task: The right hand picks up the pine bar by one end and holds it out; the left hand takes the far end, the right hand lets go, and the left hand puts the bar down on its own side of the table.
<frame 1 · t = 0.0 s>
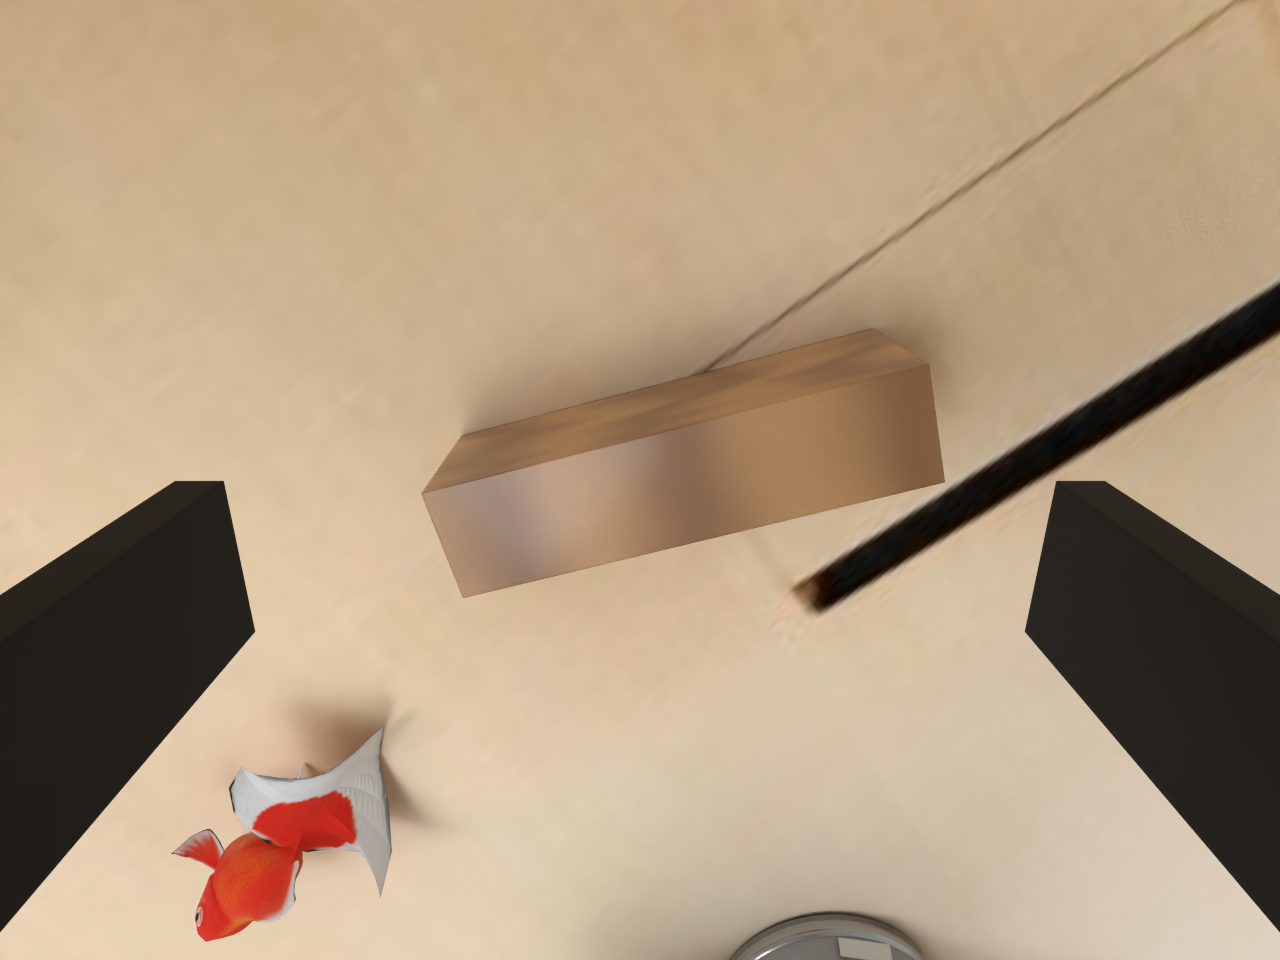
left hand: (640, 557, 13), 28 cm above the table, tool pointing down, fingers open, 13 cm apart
fish: (316, 781, 50), on the table
bar: (674, 431, 41), on the table
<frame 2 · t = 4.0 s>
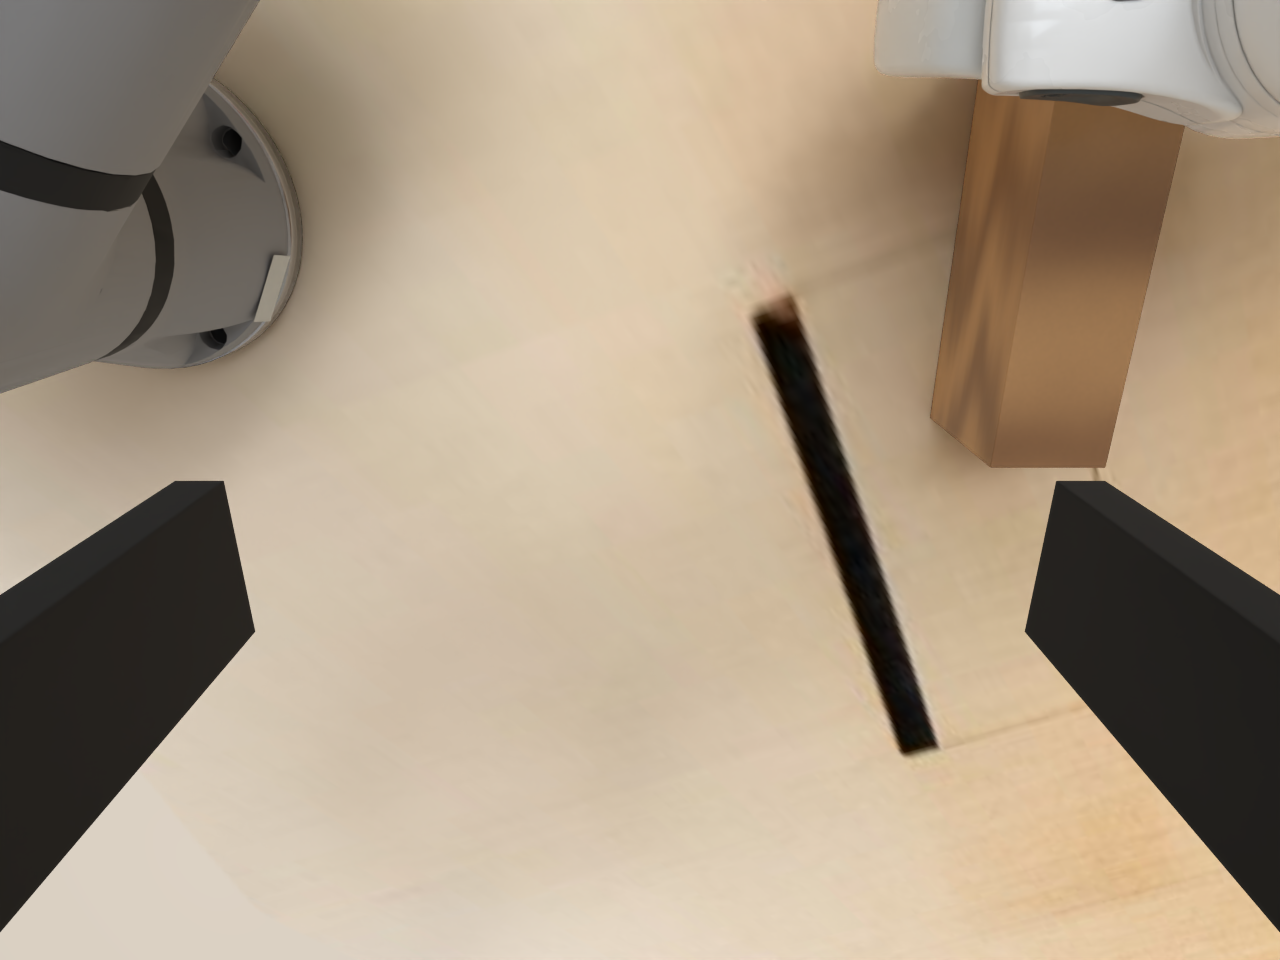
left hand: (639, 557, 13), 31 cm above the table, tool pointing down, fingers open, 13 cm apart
bar: (1011, 211, 40), on the table, touching right hand
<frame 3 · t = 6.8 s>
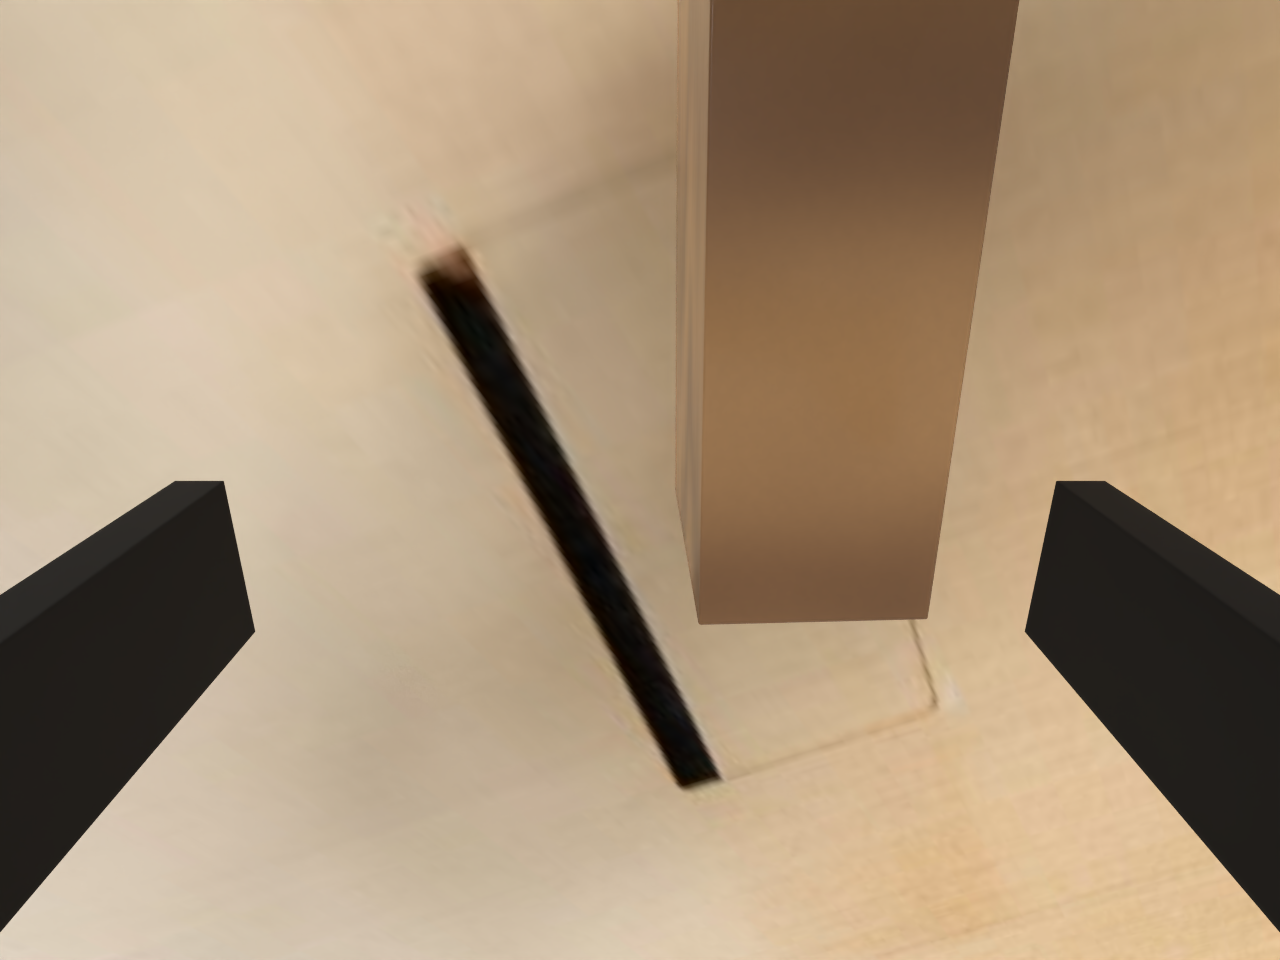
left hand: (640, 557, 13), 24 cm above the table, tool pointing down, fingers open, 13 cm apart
bar: (774, 120, 21), point 12 cm above the table, touching right hand
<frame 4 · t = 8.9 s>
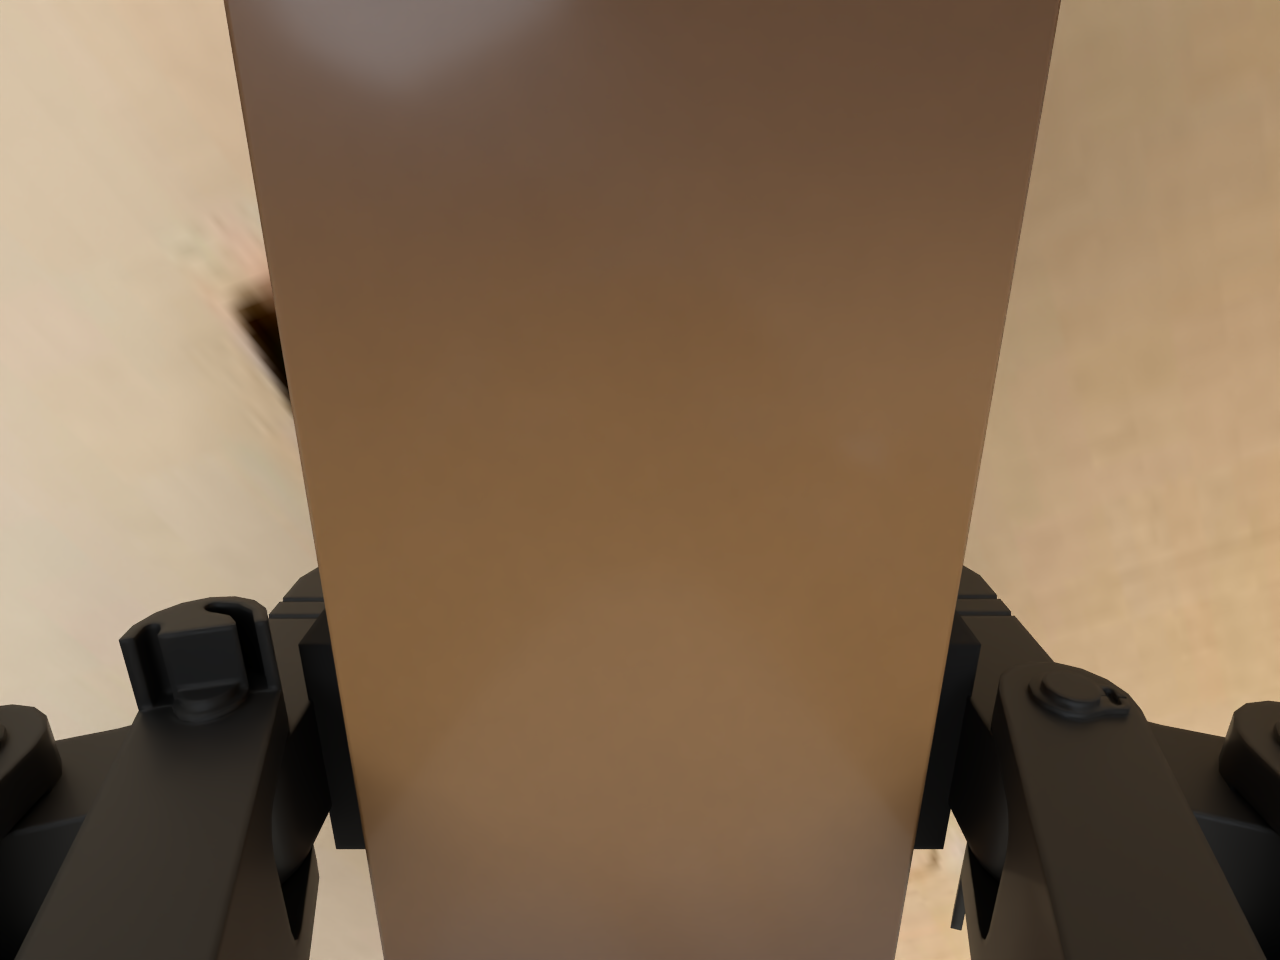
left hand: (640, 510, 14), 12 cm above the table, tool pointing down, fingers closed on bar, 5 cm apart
bar: (640, 75, 12), point 12 cm above the table, touching left hand, right hand
when the right hand's fingers open (14 cm above the table, at t = 9.7 s): bar stays where it is, held by the left hand.
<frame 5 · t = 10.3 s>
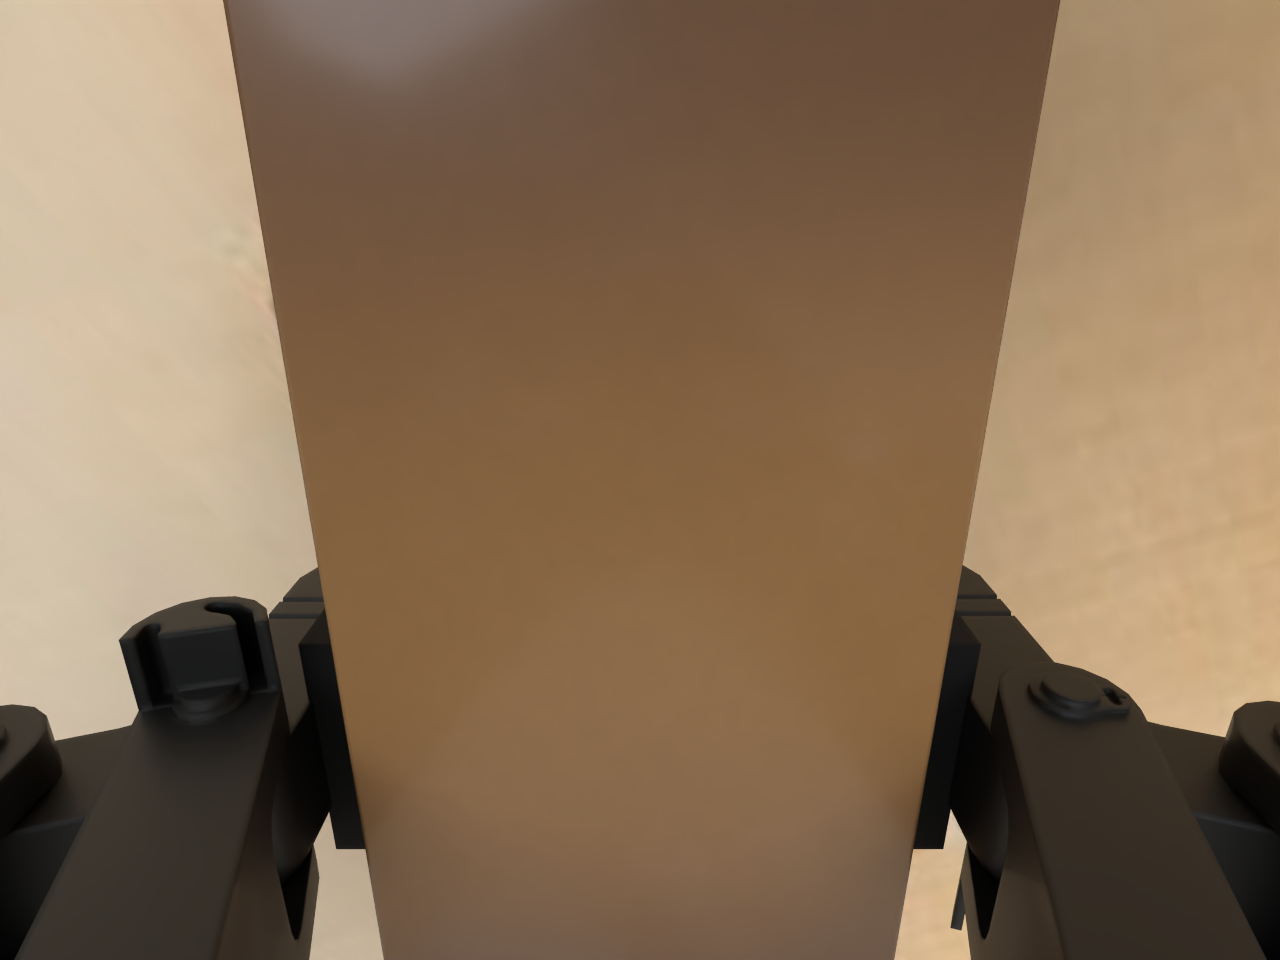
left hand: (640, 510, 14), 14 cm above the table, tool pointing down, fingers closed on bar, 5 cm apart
bar: (640, 74, 12), point 13 cm above the table, touching left hand
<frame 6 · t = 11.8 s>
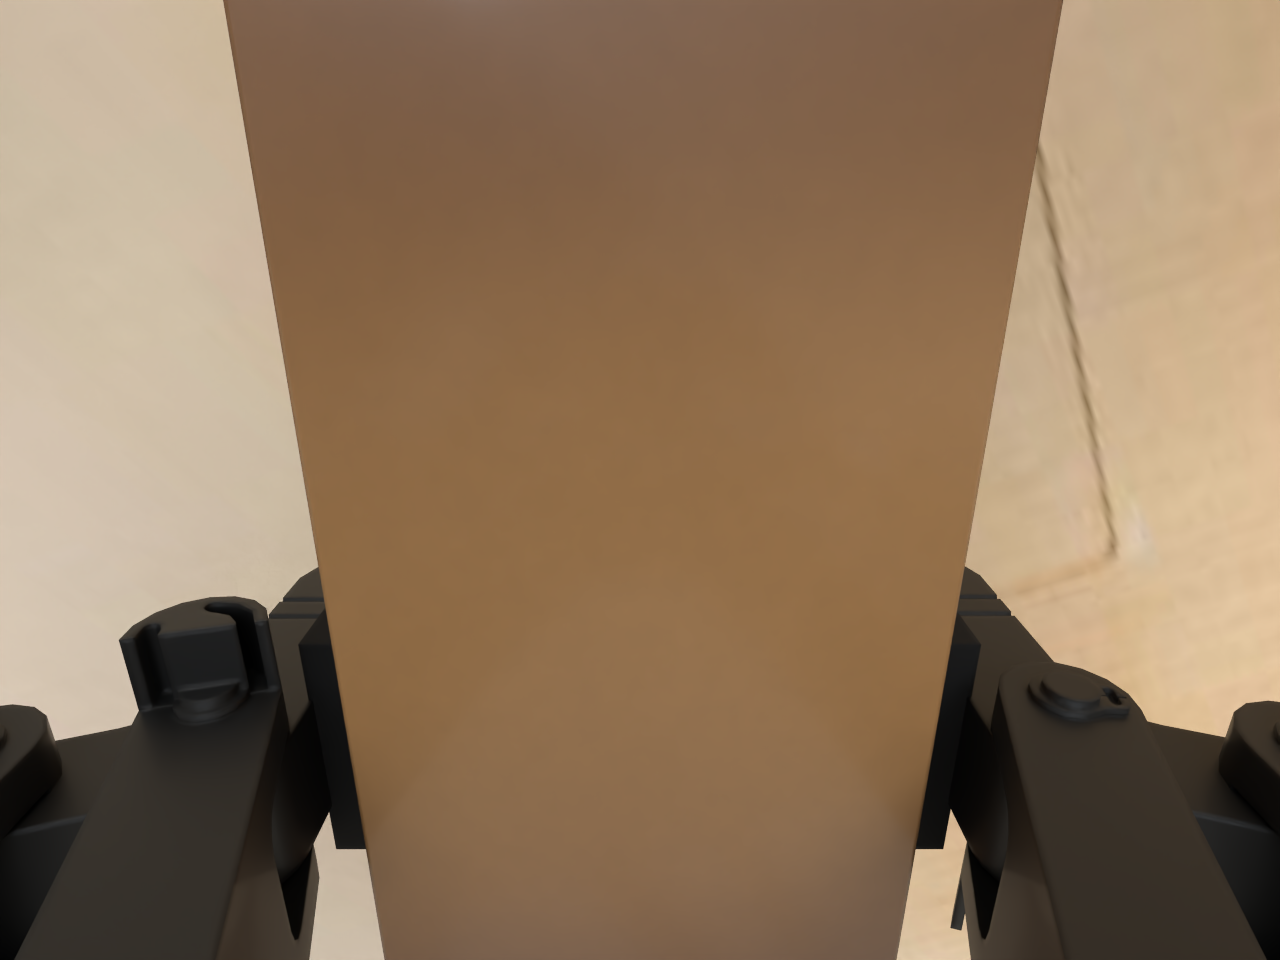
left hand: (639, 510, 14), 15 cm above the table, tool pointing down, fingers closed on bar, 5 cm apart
bar: (641, 73, 12), point 15 cm above the table, touching left hand
when the left hand's fingers open (2 cm above the table, at t = 15.1 s): bar drops 1 cm, on the table.
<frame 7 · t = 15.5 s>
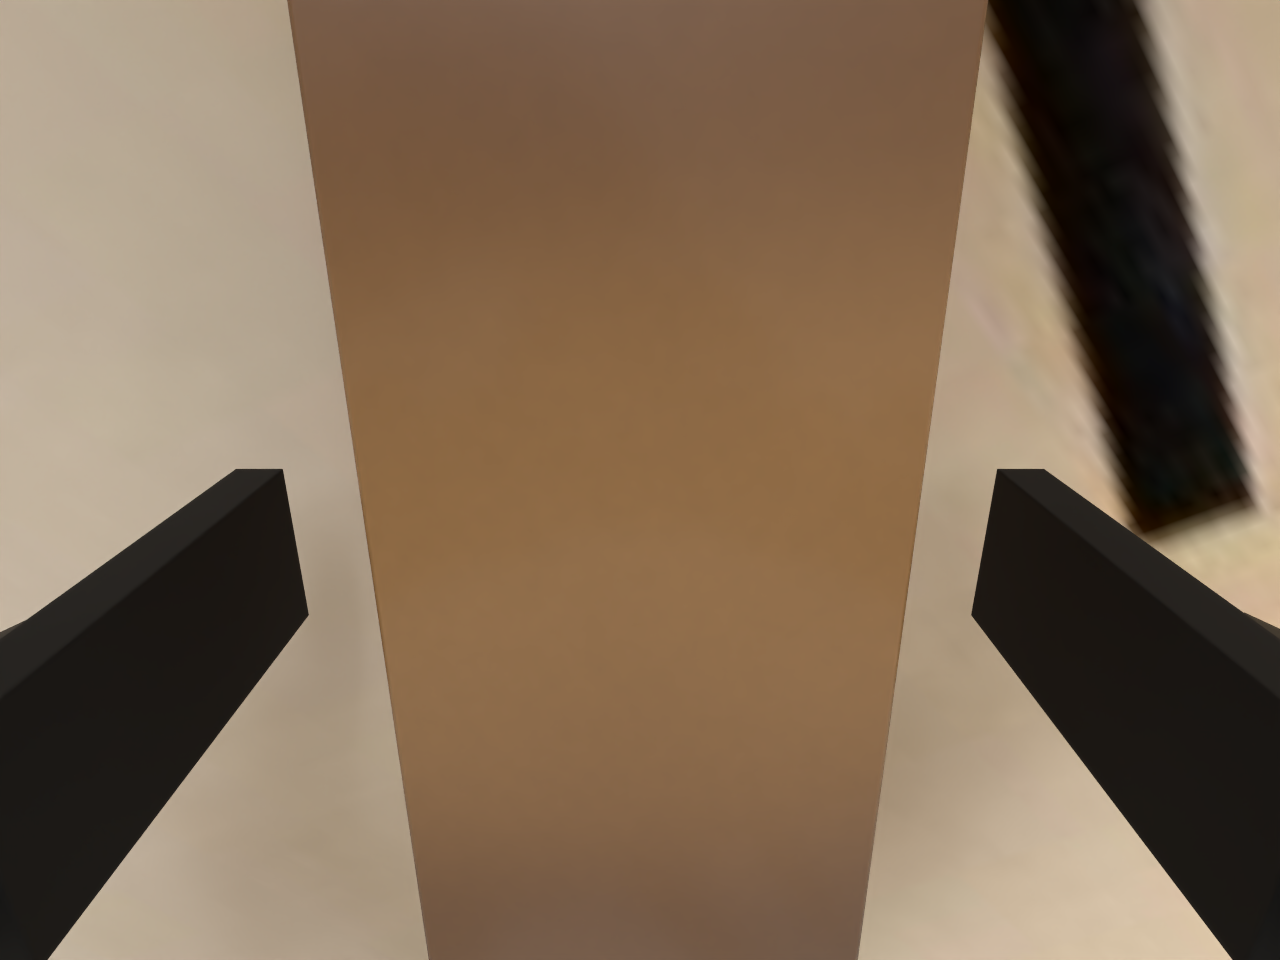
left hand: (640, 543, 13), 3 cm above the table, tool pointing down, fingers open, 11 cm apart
bar: (639, 86, 13), on the table
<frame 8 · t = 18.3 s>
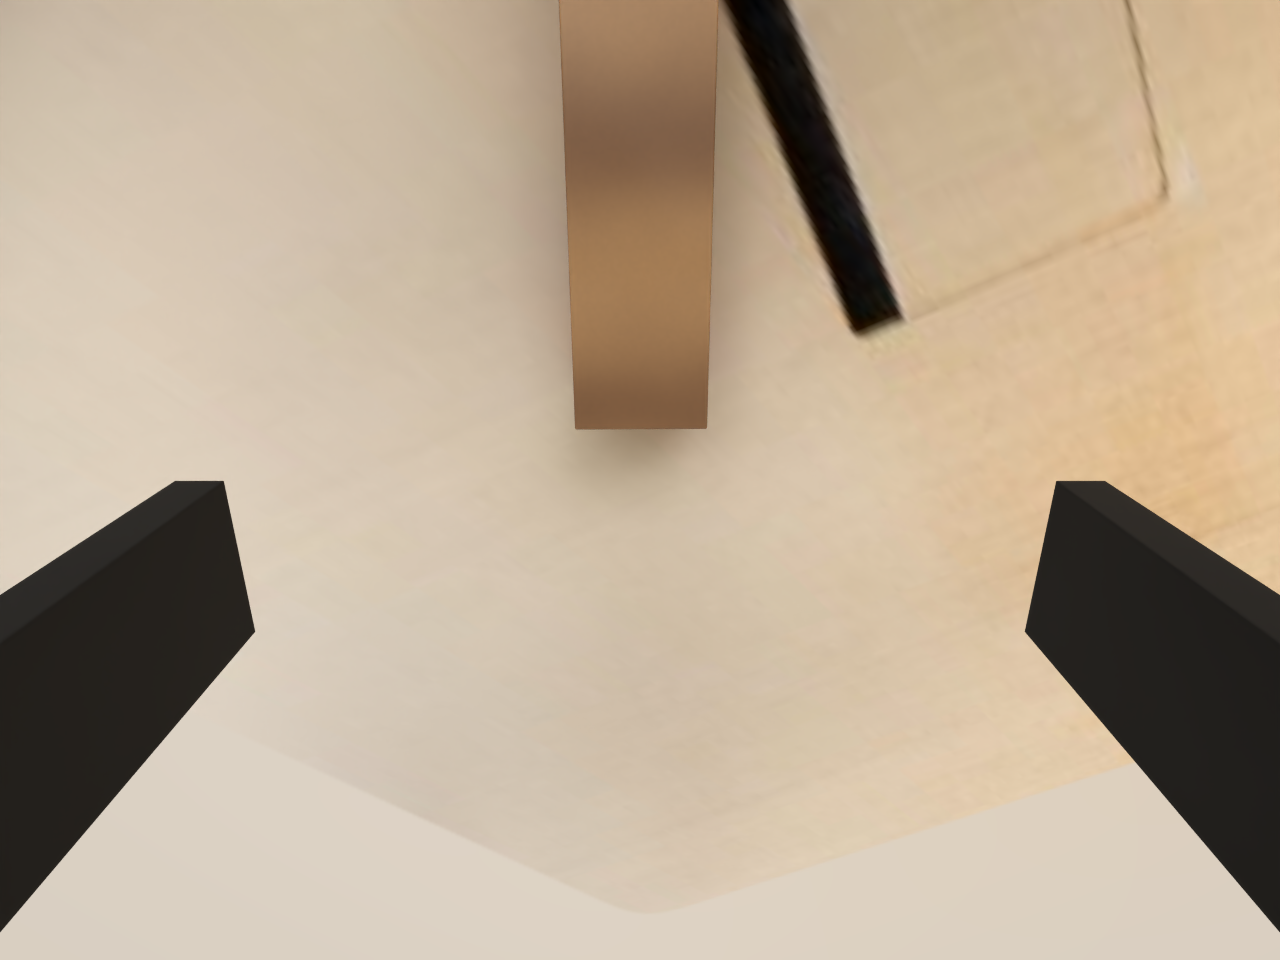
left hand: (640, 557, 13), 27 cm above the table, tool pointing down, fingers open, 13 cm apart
bar: (639, 143, 35), on the table
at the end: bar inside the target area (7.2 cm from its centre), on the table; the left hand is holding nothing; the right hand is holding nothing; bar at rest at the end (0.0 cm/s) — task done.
